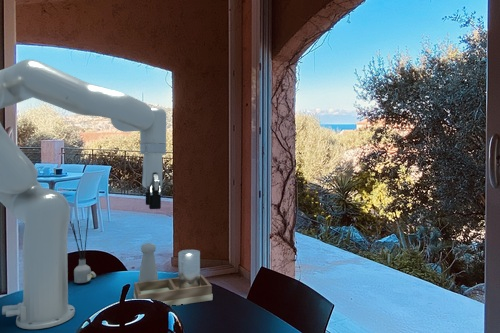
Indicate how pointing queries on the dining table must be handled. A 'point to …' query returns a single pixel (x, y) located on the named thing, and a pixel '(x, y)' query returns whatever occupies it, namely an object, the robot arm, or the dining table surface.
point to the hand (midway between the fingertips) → (152, 206)
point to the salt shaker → (148, 263)
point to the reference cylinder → (188, 268)
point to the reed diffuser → (82, 263)
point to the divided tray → (173, 291)
